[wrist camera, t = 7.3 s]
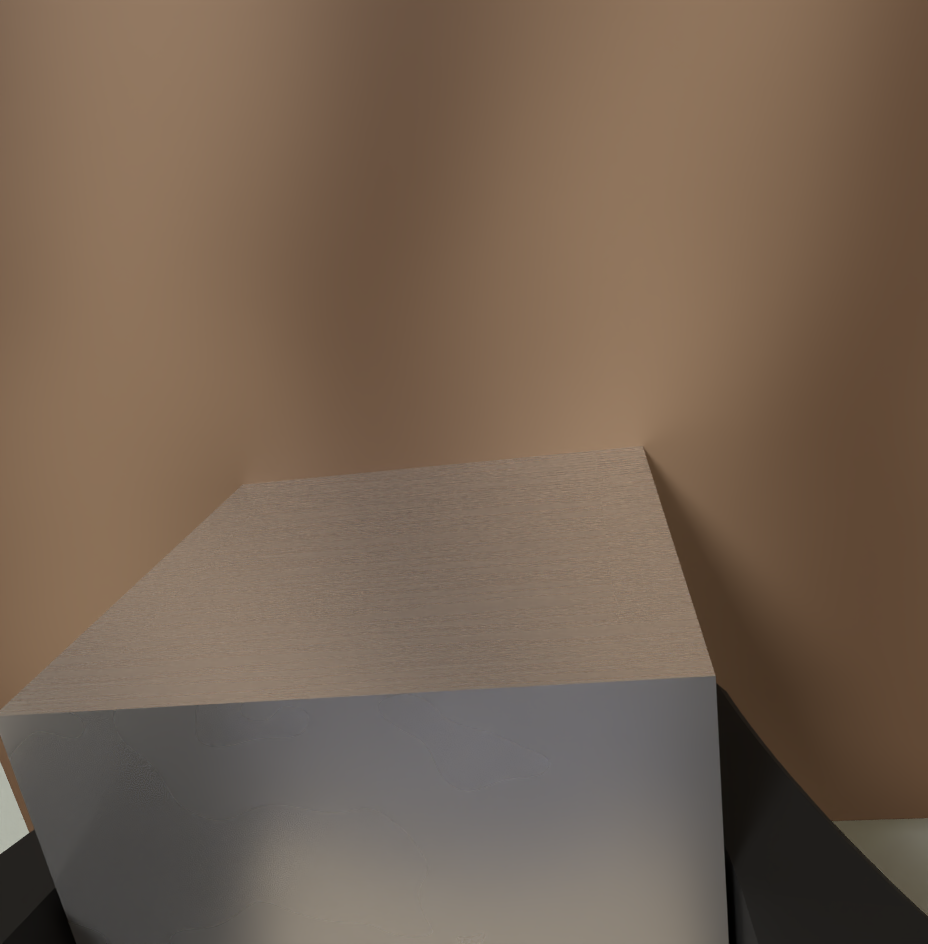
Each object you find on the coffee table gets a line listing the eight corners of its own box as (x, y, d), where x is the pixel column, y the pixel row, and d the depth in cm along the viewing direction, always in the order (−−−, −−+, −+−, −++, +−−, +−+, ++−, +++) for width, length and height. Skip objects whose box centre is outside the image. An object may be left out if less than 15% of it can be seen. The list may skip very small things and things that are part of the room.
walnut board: (1121, -385, 8) (1919, -1149, 3) (1004, 757, 13) (1269, 1114, 8) (-257, -77, 11) (-941, -272, 6) (72, 795, 15) (-151, 1088, 11)
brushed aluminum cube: (642, 446, 11) (716, 676, 6) (668, 793, 12) (742, 1211, 7) (243, 484, 11) (-7, 716, 6) (317, 806, 13) (167, 1190, 8)
